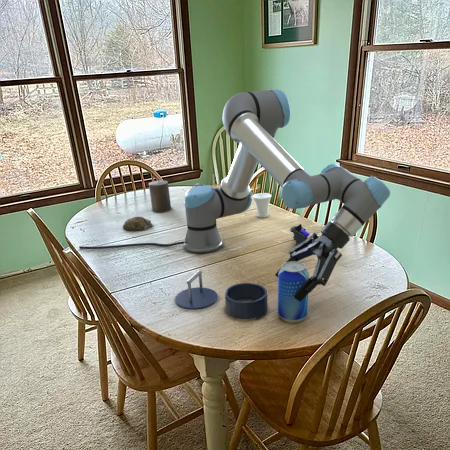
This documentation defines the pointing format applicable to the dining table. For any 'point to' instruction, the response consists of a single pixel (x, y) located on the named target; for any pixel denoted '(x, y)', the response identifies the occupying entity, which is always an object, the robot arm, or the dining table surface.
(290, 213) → the dining table surface
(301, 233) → the character figurine
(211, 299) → the lid
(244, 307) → the pot
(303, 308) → the beer can
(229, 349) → the dining table surface
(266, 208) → the cup
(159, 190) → the pillar candle
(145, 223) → the bread roll
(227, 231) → the dining table surface
